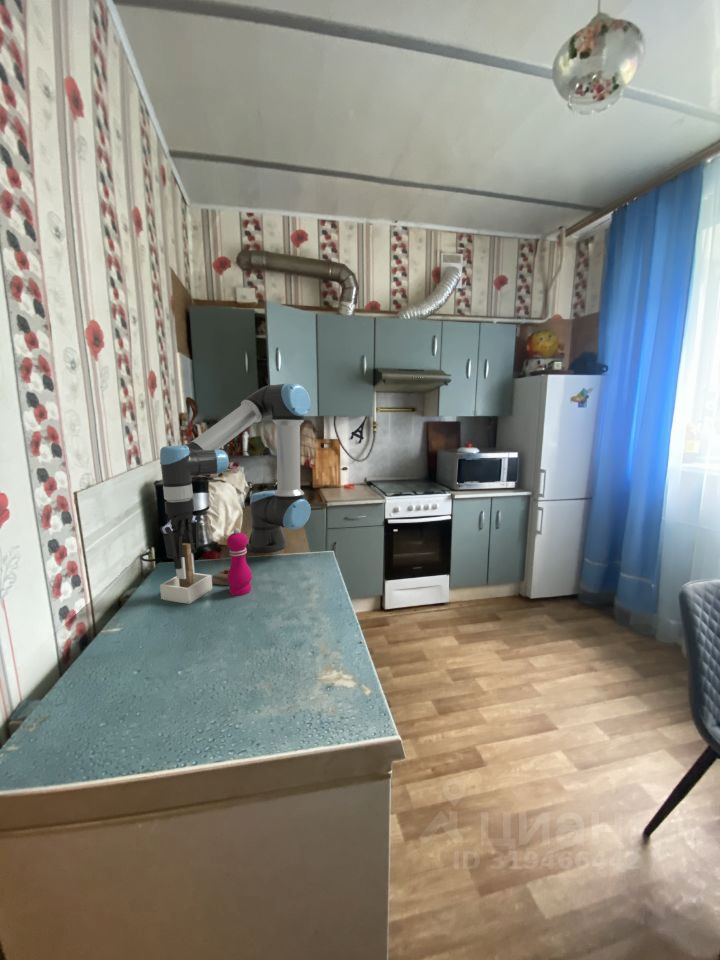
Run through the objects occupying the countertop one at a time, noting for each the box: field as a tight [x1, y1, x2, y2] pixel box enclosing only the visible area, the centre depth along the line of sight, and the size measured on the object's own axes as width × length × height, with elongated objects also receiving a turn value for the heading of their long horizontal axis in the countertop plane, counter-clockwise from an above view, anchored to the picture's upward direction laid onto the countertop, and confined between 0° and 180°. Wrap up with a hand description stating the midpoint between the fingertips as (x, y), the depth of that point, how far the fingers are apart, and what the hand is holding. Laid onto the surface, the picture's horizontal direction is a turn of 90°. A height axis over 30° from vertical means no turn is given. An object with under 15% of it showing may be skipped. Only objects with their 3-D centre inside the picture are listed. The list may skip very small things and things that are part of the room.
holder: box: [212, 567, 231, 587], centre depth 122 cm, size 7×7×2 cm
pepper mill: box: [226, 527, 253, 597], centre depth 113 cm, size 7×7×20 cm
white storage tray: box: [159, 572, 213, 605], centre depth 112 cm, size 10×10×4 cm
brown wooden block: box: [179, 542, 194, 588], centre depth 111 cm, size 2×4×15 cm, turn 73°
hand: (185, 575), depth 112 cm, fingers open, 3 cm apart
